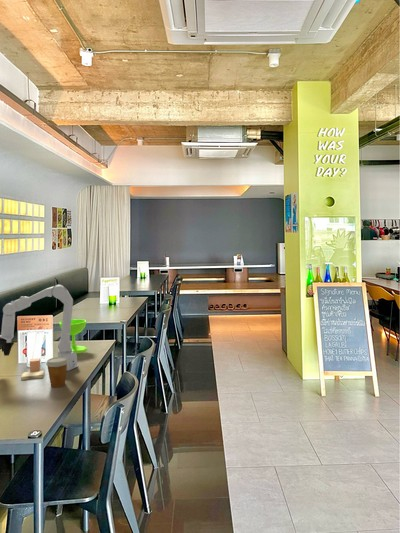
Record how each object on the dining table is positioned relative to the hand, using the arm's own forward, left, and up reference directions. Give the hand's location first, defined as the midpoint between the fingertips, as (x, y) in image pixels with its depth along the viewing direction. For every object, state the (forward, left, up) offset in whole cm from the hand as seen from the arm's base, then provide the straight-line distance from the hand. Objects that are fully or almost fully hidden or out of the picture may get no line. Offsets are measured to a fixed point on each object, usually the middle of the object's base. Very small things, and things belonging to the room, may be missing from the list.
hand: (5, 353), depth 205 cm
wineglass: (-3, -48, -11) cm, 49 cm away
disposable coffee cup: (-37, +3, -11) cm, 39 cm away
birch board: (-16, -2, -11) cm, 20 cm away
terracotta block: (-11, -9, -11) cm, 17 cm away
